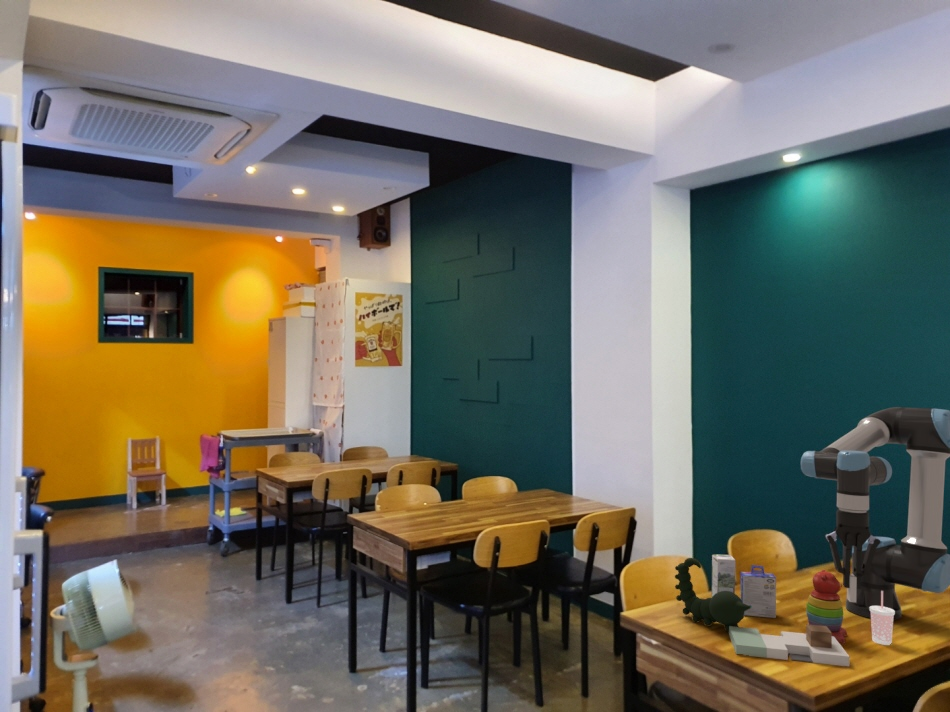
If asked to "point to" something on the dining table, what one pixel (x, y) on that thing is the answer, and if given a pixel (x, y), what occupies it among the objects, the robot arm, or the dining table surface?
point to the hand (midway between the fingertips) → (851, 600)
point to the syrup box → (723, 573)
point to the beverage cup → (882, 623)
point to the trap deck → (785, 647)
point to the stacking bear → (826, 605)
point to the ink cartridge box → (759, 592)
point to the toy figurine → (708, 601)
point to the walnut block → (818, 636)
